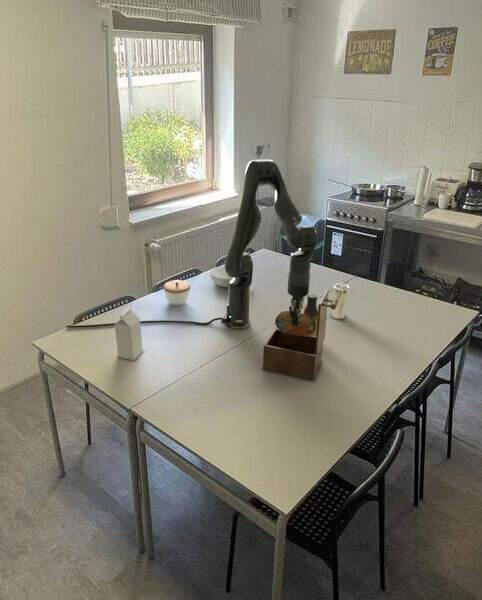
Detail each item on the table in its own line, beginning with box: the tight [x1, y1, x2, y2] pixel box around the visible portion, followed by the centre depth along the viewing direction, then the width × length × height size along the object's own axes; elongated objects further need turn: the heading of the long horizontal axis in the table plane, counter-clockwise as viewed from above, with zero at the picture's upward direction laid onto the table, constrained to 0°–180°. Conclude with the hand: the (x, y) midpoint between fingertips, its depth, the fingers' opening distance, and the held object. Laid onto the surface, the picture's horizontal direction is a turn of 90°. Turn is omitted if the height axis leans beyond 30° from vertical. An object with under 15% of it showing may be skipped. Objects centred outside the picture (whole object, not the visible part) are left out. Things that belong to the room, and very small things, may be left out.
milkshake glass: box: [331, 283, 350, 320], centre depth 224 cm, size 7×7×15 cm
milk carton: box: [114, 308, 143, 361], centre depth 191 cm, size 7×7×19 cm
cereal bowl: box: [210, 265, 234, 288], centre depth 256 cm, size 17×17×7 cm
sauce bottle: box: [303, 293, 318, 336], centre depth 204 cm, size 7×6×20 cm
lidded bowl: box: [163, 279, 191, 307], centre depth 235 cm, size 13×13×11 cm
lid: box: [315, 288, 338, 356], centre depth 176 cm, size 20×14×5 cm
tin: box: [274, 310, 316, 337], centre depth 181 cm, size 15×3×8 cm, turn 69°
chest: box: [262, 328, 324, 382], centre depth 187 cm, size 20×14×11 cm
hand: (295, 323), depth 181 cm, fingers closed on tin, 2 cm apart
